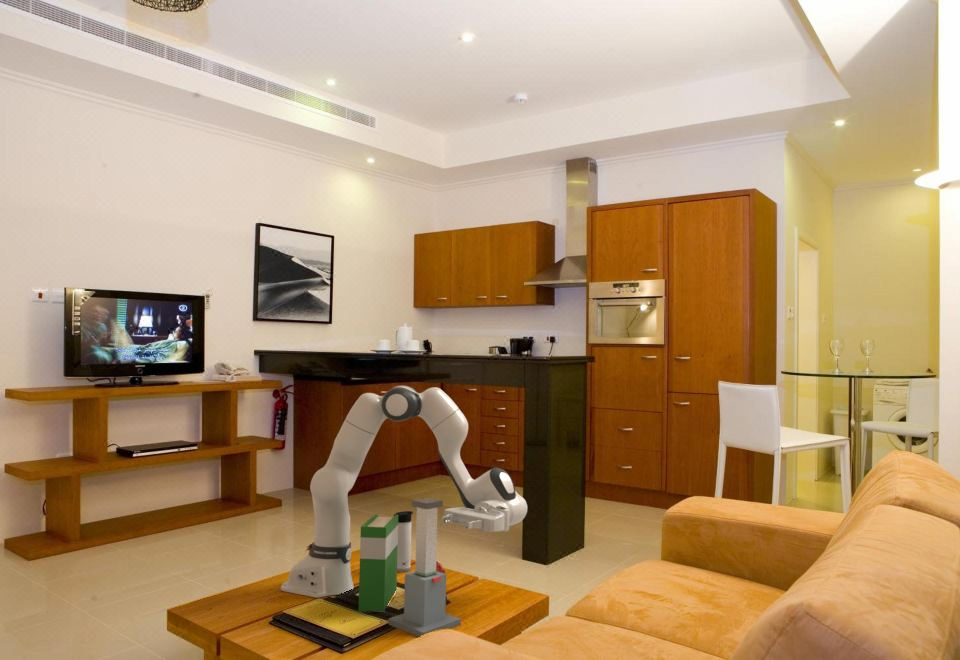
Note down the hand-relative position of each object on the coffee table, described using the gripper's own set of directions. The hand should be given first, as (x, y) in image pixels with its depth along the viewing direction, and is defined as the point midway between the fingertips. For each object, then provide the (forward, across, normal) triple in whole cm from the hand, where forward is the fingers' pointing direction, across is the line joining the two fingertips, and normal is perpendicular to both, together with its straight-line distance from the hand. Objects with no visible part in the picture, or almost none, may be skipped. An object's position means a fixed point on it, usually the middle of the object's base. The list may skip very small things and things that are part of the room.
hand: (455, 522), depth 197 cm
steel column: (+11, 0, +18) cm, 21 cm away
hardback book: (+9, -23, +26) cm, 36 cm away
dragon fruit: (-14, -24, +26) cm, 38 cm away
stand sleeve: (+11, 0, +26) cm, 28 cm away
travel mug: (-18, -43, +26) cm, 53 cm away
